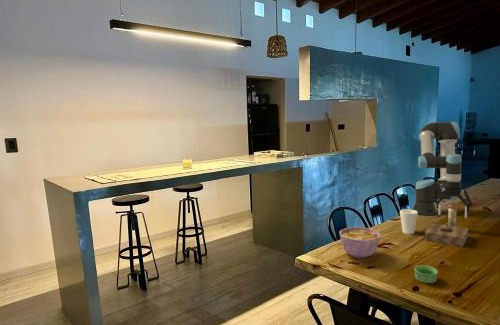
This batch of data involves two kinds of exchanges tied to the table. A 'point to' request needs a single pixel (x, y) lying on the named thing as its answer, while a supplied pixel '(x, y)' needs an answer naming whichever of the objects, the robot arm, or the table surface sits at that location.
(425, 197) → the robot arm
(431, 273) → the ramekin
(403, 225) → the foam cup
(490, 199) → the table surface
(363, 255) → the bowl of food
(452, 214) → the dowel
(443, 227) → the square peg hole block
